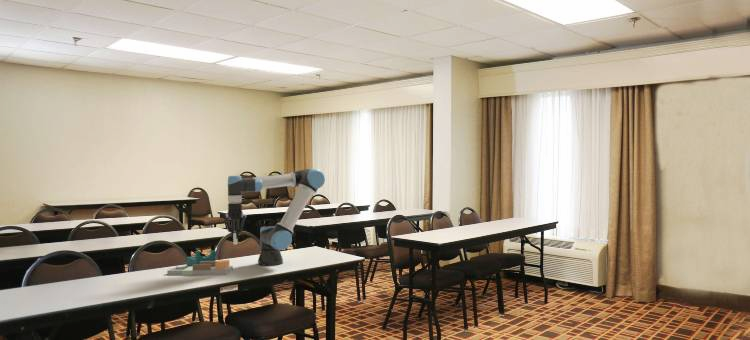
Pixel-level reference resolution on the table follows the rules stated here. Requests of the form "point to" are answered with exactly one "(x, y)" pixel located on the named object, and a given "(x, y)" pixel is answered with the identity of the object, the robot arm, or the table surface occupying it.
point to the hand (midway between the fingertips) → (235, 244)
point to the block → (222, 264)
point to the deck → (199, 269)
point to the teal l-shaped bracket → (200, 258)
